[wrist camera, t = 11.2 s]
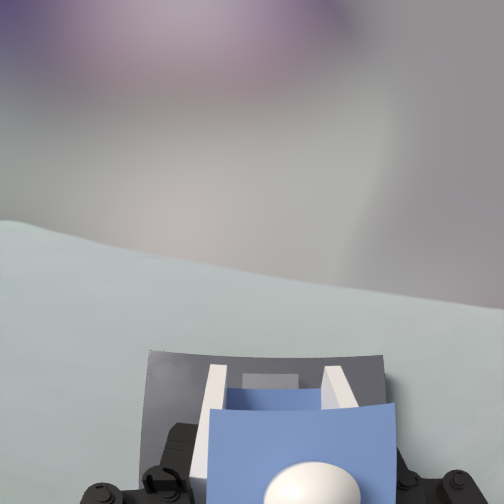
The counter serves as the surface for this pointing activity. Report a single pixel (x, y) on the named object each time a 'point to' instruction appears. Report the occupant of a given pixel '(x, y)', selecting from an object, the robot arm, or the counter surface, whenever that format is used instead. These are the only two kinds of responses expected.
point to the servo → (299, 450)
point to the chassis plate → (238, 376)
